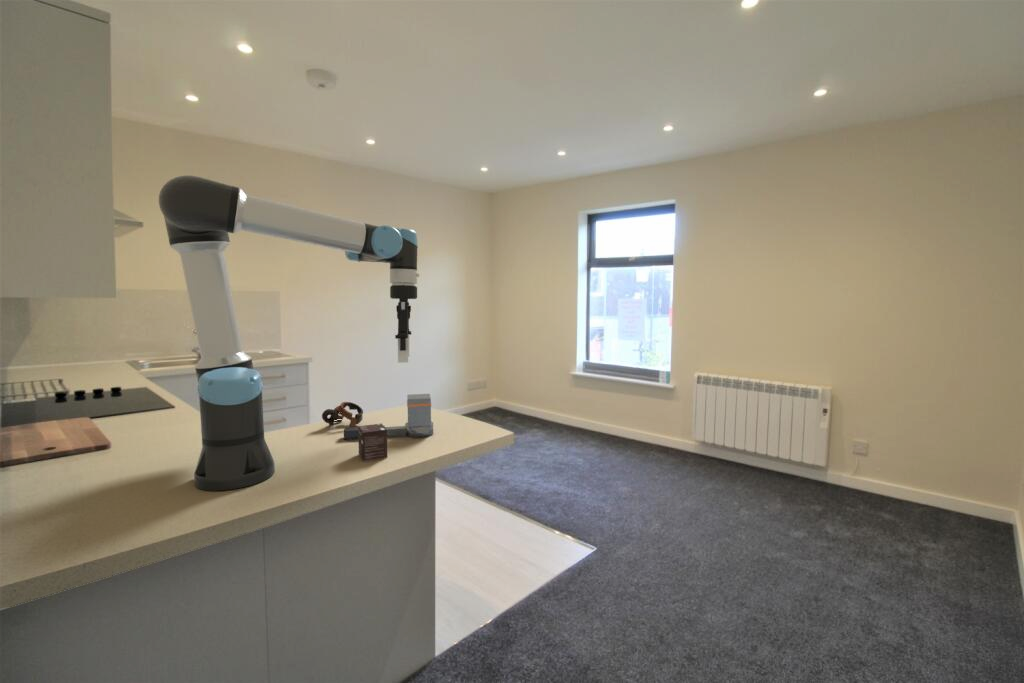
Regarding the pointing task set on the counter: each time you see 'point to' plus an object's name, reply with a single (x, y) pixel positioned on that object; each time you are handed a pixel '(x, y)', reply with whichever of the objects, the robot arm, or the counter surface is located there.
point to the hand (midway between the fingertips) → (403, 359)
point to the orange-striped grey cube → (419, 410)
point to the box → (372, 442)
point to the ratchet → (395, 432)
